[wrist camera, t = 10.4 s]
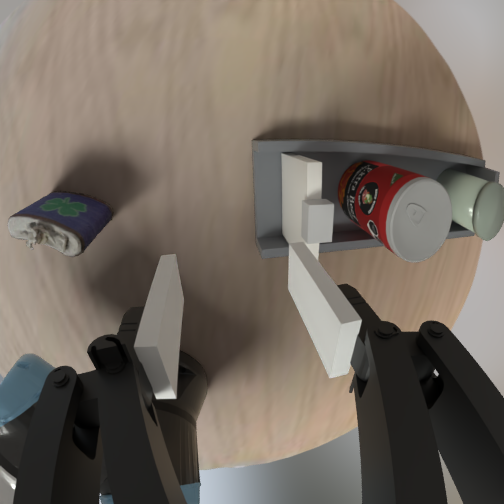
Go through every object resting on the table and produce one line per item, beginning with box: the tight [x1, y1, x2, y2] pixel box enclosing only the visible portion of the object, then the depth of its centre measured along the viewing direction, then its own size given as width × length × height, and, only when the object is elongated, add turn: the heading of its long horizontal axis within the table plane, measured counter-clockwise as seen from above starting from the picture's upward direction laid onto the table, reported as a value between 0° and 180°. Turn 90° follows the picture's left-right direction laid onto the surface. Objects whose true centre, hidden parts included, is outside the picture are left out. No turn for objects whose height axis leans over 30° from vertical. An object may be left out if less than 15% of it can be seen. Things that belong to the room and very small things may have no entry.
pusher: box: [281, 153, 334, 260], centre depth 25 cm, size 2×9×10 cm, turn 2°
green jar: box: [436, 169, 504, 241], centre depth 28 cm, size 7×7×9 cm
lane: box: [252, 139, 499, 259], centre depth 29 cm, size 33×12×7 cm, turn 92°
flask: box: [8, 191, 113, 257], centre depth 22 cm, size 9×3×11 cm, turn 71°
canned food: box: [338, 160, 452, 262], centre depth 25 cm, size 8×8×11 cm
